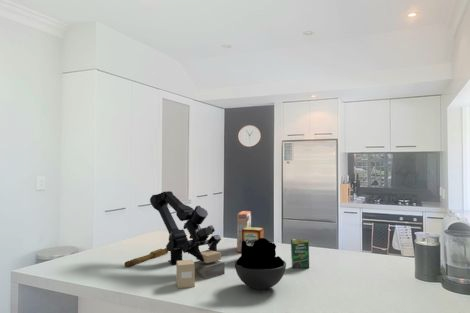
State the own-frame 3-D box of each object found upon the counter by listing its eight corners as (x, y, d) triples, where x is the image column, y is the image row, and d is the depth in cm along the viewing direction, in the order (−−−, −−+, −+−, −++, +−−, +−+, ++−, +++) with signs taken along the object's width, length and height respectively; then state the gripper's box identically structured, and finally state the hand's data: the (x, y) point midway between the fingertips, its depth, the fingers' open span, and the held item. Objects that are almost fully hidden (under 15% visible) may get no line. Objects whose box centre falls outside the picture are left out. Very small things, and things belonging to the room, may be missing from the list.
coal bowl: (288, 281, 145) (287, 235, 146) (283, 300, 126) (283, 247, 126) (240, 278, 150) (240, 233, 150) (229, 295, 130) (229, 244, 131)
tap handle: (123, 261, 166) (165, 247, 193) (123, 267, 166) (165, 252, 193) (128, 261, 165) (169, 247, 191) (128, 268, 165) (169, 253, 191)
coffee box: (292, 268, 163) (292, 240, 163) (290, 266, 166) (290, 238, 166) (309, 268, 163) (309, 239, 163) (308, 266, 166) (307, 238, 166)
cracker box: (247, 253, 191) (247, 214, 191) (236, 252, 192) (236, 213, 192) (251, 246, 205) (251, 210, 205) (241, 246, 206) (241, 210, 206)
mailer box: (176, 283, 144) (176, 260, 144) (192, 281, 145) (192, 259, 146) (178, 288, 137) (178, 265, 138) (194, 286, 139) (194, 264, 139)
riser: (192, 273, 156) (192, 262, 156) (210, 268, 162) (210, 258, 163) (206, 279, 148) (206, 267, 148) (224, 273, 155) (224, 262, 155)
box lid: (196, 259, 156) (196, 252, 156) (209, 256, 161) (209, 249, 161) (207, 263, 150) (207, 255, 150) (220, 259, 155) (220, 252, 155)
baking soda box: (242, 260, 176) (241, 228, 176) (246, 257, 182) (246, 226, 182) (260, 262, 173) (260, 229, 173) (263, 259, 179) (263, 227, 179)
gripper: (185, 222, 152) (201, 252, 144) (218, 217, 165) (234, 245, 157) (175, 237, 158) (190, 268, 150) (207, 232, 171) (223, 259, 162)
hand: (210, 259), depth 154 cm, fingers closed on box lid, 7 cm apart
